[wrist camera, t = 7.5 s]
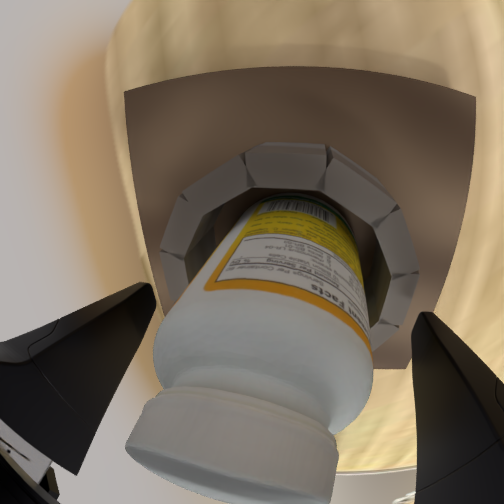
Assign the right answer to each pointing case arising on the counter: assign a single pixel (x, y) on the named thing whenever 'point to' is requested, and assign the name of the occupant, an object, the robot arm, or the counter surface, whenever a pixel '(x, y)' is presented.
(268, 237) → the supplement bottle
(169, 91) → the brown base with ring
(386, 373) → the counter surface
